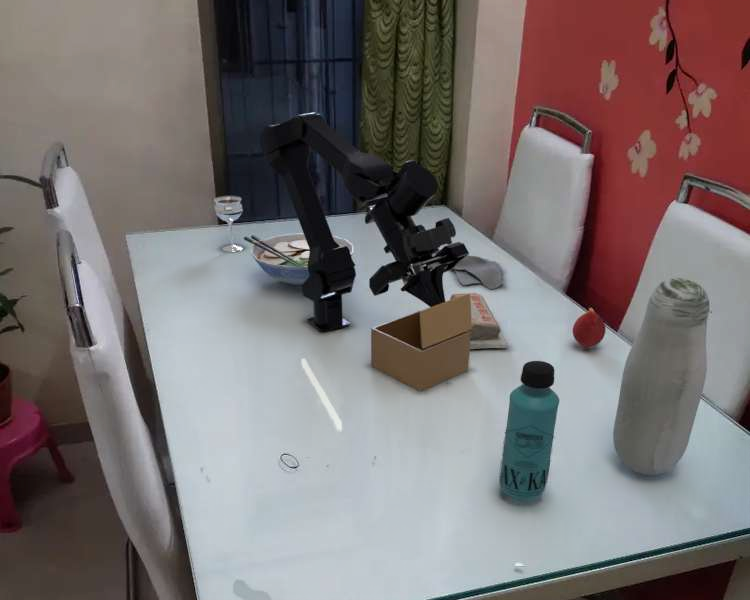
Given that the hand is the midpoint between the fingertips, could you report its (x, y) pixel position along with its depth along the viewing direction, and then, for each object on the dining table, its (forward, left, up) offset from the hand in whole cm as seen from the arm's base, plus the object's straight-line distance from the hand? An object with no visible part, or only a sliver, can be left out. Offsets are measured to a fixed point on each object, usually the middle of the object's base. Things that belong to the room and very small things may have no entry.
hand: (443, 312), depth 130 cm
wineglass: (-83, -6, -13) cm, 85 cm away
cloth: (-42, +37, -13) cm, 57 cm away
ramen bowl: (-54, 0, -13) cm, 56 cm away
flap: (+1, 0, -1) cm, 1 cm away
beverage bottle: (+35, -9, -13) cm, 38 cm away
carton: (-5, -1, -12) cm, 13 cm away
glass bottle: (+38, +11, -13) cm, 41 cm away
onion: (+4, +31, -13) cm, 33 cm away
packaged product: (-13, +17, -13) cm, 25 cm away
